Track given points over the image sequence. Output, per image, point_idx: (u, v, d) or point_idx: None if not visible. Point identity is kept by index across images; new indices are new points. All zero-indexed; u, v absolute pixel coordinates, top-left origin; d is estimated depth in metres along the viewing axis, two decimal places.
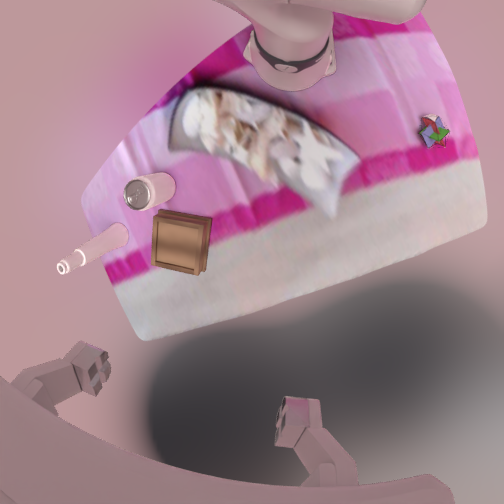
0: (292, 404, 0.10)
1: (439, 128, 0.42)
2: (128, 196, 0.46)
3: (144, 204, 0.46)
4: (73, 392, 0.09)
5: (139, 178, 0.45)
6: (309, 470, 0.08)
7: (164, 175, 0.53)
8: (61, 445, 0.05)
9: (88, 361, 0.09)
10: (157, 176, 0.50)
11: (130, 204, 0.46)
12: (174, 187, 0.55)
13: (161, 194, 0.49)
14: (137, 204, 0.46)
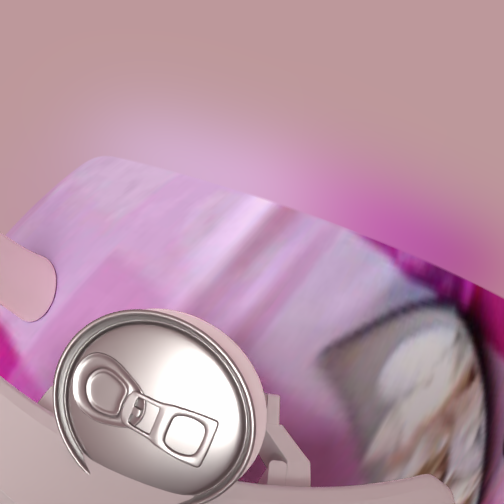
0: None
1: None
2: (106, 355, 0.06)
3: None
4: None
5: (250, 383, 0.07)
6: None
7: None
8: (61, 445, 0.05)
9: None
10: None
11: (71, 380, 0.06)
12: None
13: None
14: (89, 430, 0.05)
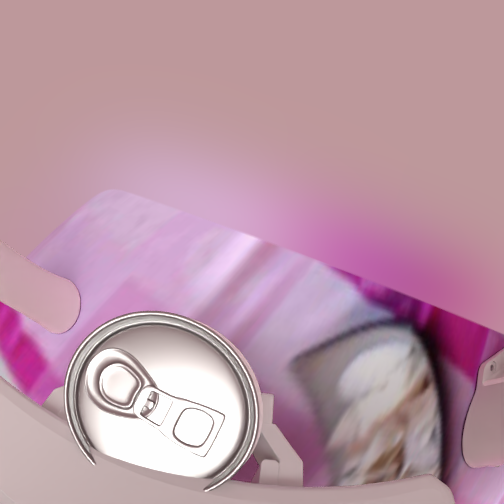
0: None
1: None
2: (123, 350, 0.07)
3: None
4: None
5: None
6: None
7: None
8: (61, 445, 0.05)
9: None
10: None
11: (84, 372, 0.06)
12: None
13: None
14: (98, 421, 0.06)
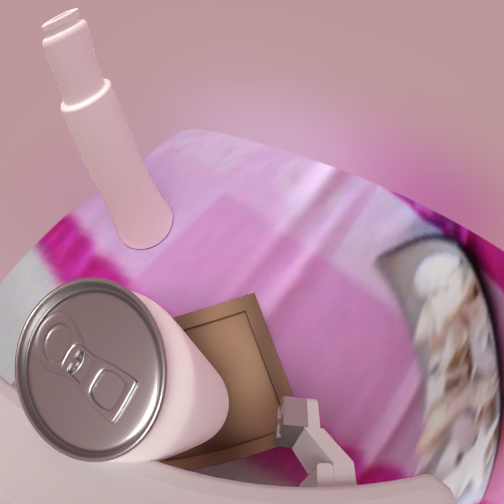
0: (290, 404, 0.10)
1: None
2: (66, 314, 0.07)
3: (47, 421, 0.05)
4: None
5: (176, 355, 0.07)
6: (307, 470, 0.08)
7: (223, 411, 0.13)
8: None
9: None
10: (215, 410, 0.10)
11: (36, 332, 0.07)
12: None
13: None
14: (38, 376, 0.06)
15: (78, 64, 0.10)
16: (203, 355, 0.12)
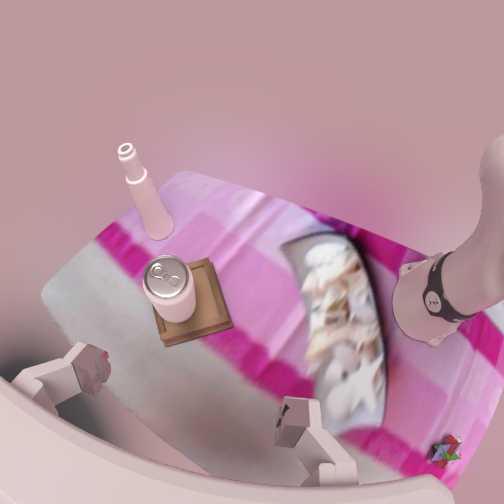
0: (292, 404, 0.10)
1: None
2: (160, 264, 0.32)
3: (155, 292, 0.31)
4: (73, 392, 0.09)
5: (189, 273, 0.33)
6: (309, 470, 0.08)
7: (194, 303, 0.40)
8: (61, 445, 0.05)
9: (88, 361, 0.09)
10: (193, 296, 0.37)
11: (149, 269, 0.32)
12: (181, 321, 0.40)
13: (173, 310, 0.34)
14: (151, 280, 0.31)
15: (135, 168, 0.35)
16: None
